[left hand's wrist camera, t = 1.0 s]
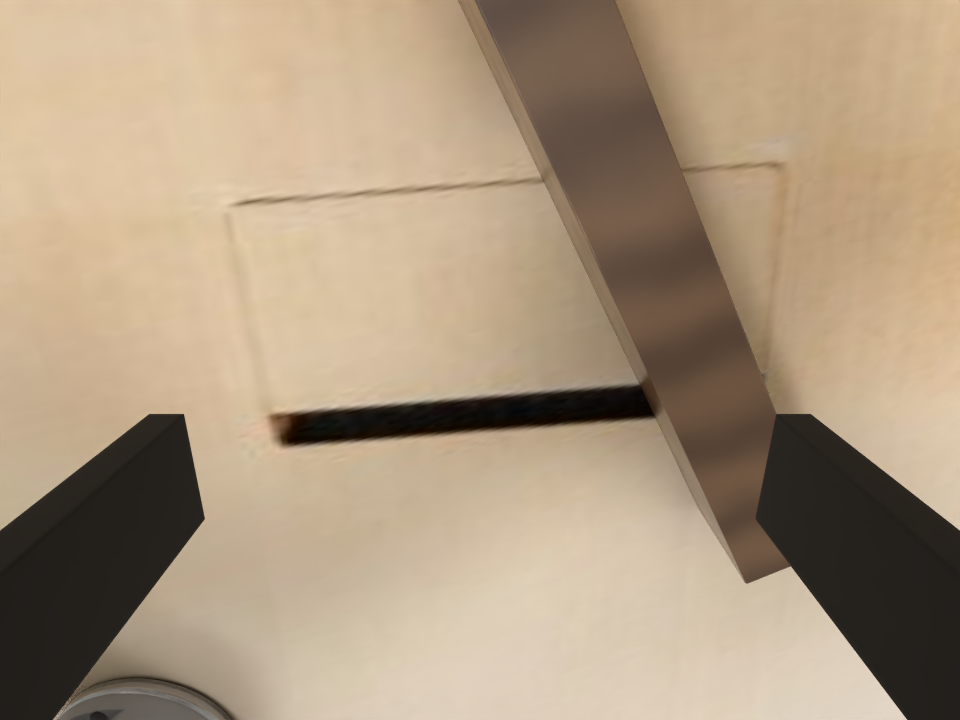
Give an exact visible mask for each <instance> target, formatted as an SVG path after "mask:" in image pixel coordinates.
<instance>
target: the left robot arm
mask: <svg viewBox="0 0 960 720" xmlns="http://www.w3.org/2000/svg"><path fill="white" fill-rule="evenodd" d="M204 519H205V518H204V512H203V507H202V502H201V497H200V492H199V487H198V482H197V477H196V472H195V467H194V462H193V457H192V452H191V447H190V442H189V437H188V432H187V427H186V422H185V417H184V414H149V415H148V416H146V417H145V418H144V419H142V420H141V421H140V422H139V423H137V424H136V425H135V426H133V427H132V428H131V429H130V430H128V431H127V432H126V433H125V434H123V435H122V436H121V437H119V438H118V439H117V440H116V441H114V442H113V443H112V444H110V445H109V446H108V447H107V448H105V449H104V450H103V451H102V452H100V453H99V454H98V455H96V456H95V457H94V458H93V459H91V460H90V461H89V462H87V463H86V464H85V465H84V466H82V467H81V468H80V469H78V470H77V471H76V472H75V473H73V474H72V475H71V476H70V477H68V478H67V479H66V480H64V481H63V482H62V483H61V484H59V485H58V486H57V487H55V488H54V489H53V490H52V491H50V492H49V493H48V494H46V495H45V496H44V497H43V498H41V499H40V500H39V501H38V502H36V503H35V504H34V505H32V506H31V507H30V508H29V509H27V510H26V511H25V512H23V513H22V514H21V515H20V516H18V517H17V518H16V519H14V520H13V521H12V522H11V523H9V524H8V525H7V526H6V527H4V528H3V529H2V530H0V720H53V719H54V717H55V716H56V715H57V713H58V712H59V711H60V709H61V708H62V707H63V705H64V704H65V703H66V701H67V700H68V699H69V698H70V696H71V695H72V694H73V692H74V691H75V690H76V688H77V687H78V686H79V684H80V683H81V682H82V680H83V679H84V678H85V676H86V675H87V674H88V672H89V671H90V670H91V668H92V667H93V666H94V665H95V663H96V662H97V661H98V659H99V658H100V657H101V655H102V654H103V653H104V651H105V650H106V649H107V647H108V646H109V645H110V643H111V642H112V641H113V639H114V638H115V637H116V635H117V634H118V633H119V632H120V630H121V629H122V628H123V626H124V625H125V624H126V622H127V621H128V620H129V618H130V617H131V616H132V614H133V613H134V612H135V610H136V609H137V608H138V606H139V605H140V604H141V602H142V601H143V600H144V599H145V597H146V596H147V595H148V593H149V592H150V591H151V589H152V588H153V587H154V585H155V584H156V583H157V581H158V580H159V579H160V577H161V576H162V575H163V573H164V572H165V571H166V569H167V568H168V567H169V566H170V564H171V563H172V562H173V560H174V559H175V558H176V556H177V555H178V554H179V552H180V551H181V550H182V548H183V547H184V546H185V544H186V543H187V542H188V540H189V539H190V538H191V536H192V535H193V534H194V533H195V531H196V530H197V529H198V527H199V526H200V525H201V523H202V522H203V521H204ZM755 519H756V521H757V522H758V523H759V525H760V526H761V527H762V529H763V530H764V531H765V533H766V534H767V535H768V536H769V538H770V539H771V540H772V542H773V543H774V544H775V546H776V547H777V548H778V550H779V551H780V552H781V554H782V555H783V556H784V558H785V559H786V560H787V562H788V563H789V564H790V566H791V567H792V568H793V569H794V571H795V572H796V573H797V575H798V576H799V577H800V579H801V580H802V581H803V583H804V584H805V585H806V587H807V588H808V589H809V591H810V592H811V593H812V595H813V596H814V597H815V599H816V600H817V601H818V602H819V604H820V605H821V606H822V608H823V609H824V610H825V612H826V613H827V614H828V616H829V617H830V618H831V620H832V621H833V622H834V624H835V625H836V626H837V628H838V629H839V630H840V632H841V633H842V634H843V635H844V637H845V638H846V639H847V641H848V642H849V643H850V645H851V646H852V647H853V649H854V650H855V651H856V653H857V654H858V655H859V657H860V658H861V659H862V661H863V662H864V663H865V665H866V666H867V667H868V668H869V670H870V671H871V672H872V674H873V675H874V676H875V678H876V679H877V680H878V682H879V683H880V684H881V686H882V687H883V688H884V690H885V691H886V692H887V694H888V695H889V696H890V698H891V699H892V700H893V701H894V703H895V704H896V705H897V707H898V708H899V709H900V711H901V712H902V713H903V715H904V716H905V717H906V719H907V720H960V530H958V529H957V528H956V527H954V526H953V525H952V524H951V523H949V522H948V521H947V520H946V519H944V518H943V517H942V516H940V515H939V514H938V513H937V512H935V511H934V510H933V509H931V508H930V507H929V506H928V505H926V504H925V503H924V502H922V501H921V500H920V499H919V498H917V497H916V496H915V495H914V494H912V493H911V492H910V491H908V490H907V489H906V488H905V487H903V486H902V485H901V484H899V483H898V482H897V481H896V480H894V479H893V478H892V477H890V476H889V475H888V474H887V473H885V472H884V471H883V470H882V469H880V468H879V467H878V466H876V465H875V464H874V463H873V462H871V461H870V460H869V459H867V458H866V457H865V456H864V455H862V454H861V453H860V452H858V451H857V450H856V449H855V448H853V447H852V446H851V445H850V444H848V443H847V442H846V441H844V440H843V439H842V438H841V437H839V436H838V435H837V434H835V433H834V432H833V431H832V430H830V429H829V428H828V427H827V426H825V425H824V424H823V423H821V422H820V421H819V420H818V419H816V418H815V417H814V416H812V415H811V414H776V417H775V422H774V427H773V432H772V437H771V442H770V447H769V452H768V457H767V462H766V467H765V472H764V477H763V482H762V487H761V492H760V497H759V502H758V507H757V513H756V518H755ZM57 720H231V718H230V717H229V716H228V715H227V714H226V713H225V712H224V711H223V710H222V709H221V708H220V707H218V706H217V705H216V704H214V703H213V702H212V701H210V700H209V699H207V698H205V697H204V696H202V695H200V694H198V693H196V692H194V691H192V690H190V689H187V688H185V687H182V686H179V685H176V684H173V683H169V682H165V681H160V680H153V679H144V678H127V679H117V680H111V681H107V682H103V683H100V684H97V685H95V686H93V687H90V688H88V689H86V690H85V691H83V692H82V693H80V694H79V695H77V696H76V697H75V698H74V699H73V700H72V701H71V702H70V703H69V705H68V706H67V707H66V708H65V710H64V711H63V712H62V714H61V715H60V716H59V718H58V719H57Z"/></svg>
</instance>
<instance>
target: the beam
mask: <svg viewBox="0 0 960 720" xmlns="http://www.w3.org/2000/svg"><path fill="white" fill-rule="evenodd" d="M458 1H459V3H460V5H461V8H462V10H463V12H464V14H465V16H466V18H467V20H468V22H469V24H470V27H471V29H472V31H473V33H474V35H475V37H476V39H477V41H478V44H479V46H480V48H481V50H482V52H483V54H484V56H485V58H486V60H487V63H488V65H489V67H490V69H491V71H492V73H493V75H494V77H495V79H496V82H497V84H498V86H499V88H500V90H501V92H502V94H503V96H504V98H505V101H506V103H507V105H508V107H509V109H510V111H511V113H512V115H513V117H514V120H515V122H516V124H517V126H518V128H519V130H520V132H521V134H522V137H523V139H524V141H525V143H526V145H527V147H528V149H529V151H530V153H531V156H532V158H533V160H534V162H535V164H536V166H537V168H538V170H539V172H540V175H541V177H542V179H543V181H544V183H545V185H546V187H547V189H548V191H549V194H550V196H551V198H552V200H553V202H554V204H555V206H556V208H557V210H558V213H559V215H560V217H561V219H562V221H563V223H564V225H565V227H566V230H567V232H568V234H569V236H570V238H571V240H572V242H573V244H574V246H575V249H576V251H577V253H578V255H579V257H580V259H581V261H582V263H583V265H584V268H585V270H586V272H587V274H588V276H589V278H590V280H591V282H592V284H593V287H594V289H595V291H596V293H597V295H598V297H599V299H600V301H601V303H602V306H603V308H604V310H605V312H606V314H607V316H608V318H609V320H610V323H611V325H612V327H613V329H614V331H615V333H616V335H617V337H618V339H619V342H620V344H621V346H622V348H623V350H624V352H625V354H626V356H627V358H628V361H629V363H630V365H631V367H632V369H633V371H634V373H635V375H636V377H637V380H638V382H639V384H640V386H641V388H642V390H643V392H644V394H645V396H646V399H647V401H648V403H649V405H650V407H651V409H652V411H653V413H654V416H655V418H656V420H657V422H658V424H659V426H660V428H661V430H662V432H663V435H664V437H665V439H666V441H667V443H668V445H669V447H670V449H671V451H672V454H673V456H674V458H675V460H676V462H677V464H678V466H679V468H680V470H681V473H682V475H683V477H684V479H685V481H686V483H687V485H688V487H689V489H690V492H691V494H692V496H693V498H694V500H695V502H696V504H697V506H698V509H699V510H700V512H701V513H702V515H703V517H704V518H705V520H706V521H707V523H708V525H709V526H710V528H711V529H712V531H713V532H714V534H715V536H716V537H717V539H718V540H719V542H720V544H721V545H722V547H723V548H724V550H725V552H726V553H727V555H728V556H729V558H730V559H731V561H732V563H733V564H734V566H735V567H736V569H737V571H738V572H739V574H740V575H741V577H742V579H743V580H744V582H745V583H746V584H748V583H750V582H753V581H755V580H758V579H760V578H763V577H765V576H768V575H770V574H773V573H775V572H778V571H780V570H783V569H785V568H788V567H790V564H789V563H788V562H787V560H786V559H785V558H784V556H783V555H782V554H781V552H780V551H779V550H778V548H777V547H776V546H775V544H774V543H773V542H772V540H771V539H770V538H769V536H768V535H767V534H766V533H765V531H764V530H763V529H762V527H761V526H760V525H759V523H758V522H757V521H756V519H755V518H756V513H757V507H758V502H759V497H760V492H761V487H762V482H763V477H764V472H765V467H766V462H767V457H768V452H769V447H770V442H771V437H772V432H773V427H774V422H775V417H776V411H775V409H774V406H773V404H772V401H771V398H770V396H769V393H768V391H767V388H766V386H765V383H764V381H763V378H762V375H761V373H760V370H759V368H758V365H757V363H756V360H755V357H754V355H753V352H752V350H751V347H750V345H749V342H748V340H747V337H746V334H745V332H744V329H743V327H742V324H741V322H740V319H739V317H738V314H737V311H736V309H735V306H734V304H733V301H732V299H731V296H730V293H729V291H728V288H727V286H726V283H725V281H724V278H723V276H722V273H721V270H720V268H719V265H718V263H717V260H716V258H715V255H714V253H713V250H712V247H711V245H710V242H709V240H708V237H707V235H706V232H705V230H704V227H703V224H702V222H701V219H700V217H699V214H698V212H697V209H696V206H695V204H694V201H693V199H692V196H691V194H690V191H689V189H688V186H687V183H686V181H685V178H684V176H683V173H682V171H681V168H680V166H679V163H678V160H677V158H676V155H675V153H674V150H673V148H672V145H671V142H670V140H669V137H668V135H667V132H666V130H665V127H664V125H663V122H662V119H661V117H660V114H659V112H658V109H657V107H656V104H655V102H654V99H653V96H652V94H651V91H650V89H649V86H648V84H647V81H646V78H645V76H644V73H643V71H642V68H641V66H640V63H639V61H638V58H637V55H636V53H635V50H634V48H633V45H632V43H631V40H630V38H629V35H628V32H627V30H626V27H625V25H624V22H623V20H622V17H621V14H620V12H619V9H618V7H617V4H616V2H615V0H458Z"/></svg>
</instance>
